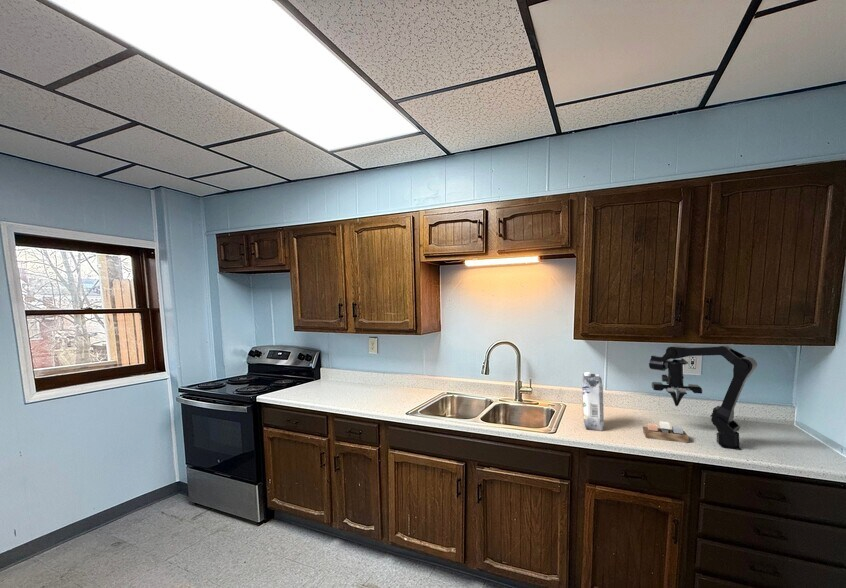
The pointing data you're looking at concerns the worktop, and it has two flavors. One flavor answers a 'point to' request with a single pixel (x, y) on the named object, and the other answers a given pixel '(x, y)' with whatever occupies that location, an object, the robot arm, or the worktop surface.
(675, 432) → the key slate
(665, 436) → the key panel
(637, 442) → the worktop surface
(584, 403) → the juice carton
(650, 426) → the key terracotta
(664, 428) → the key ivory
